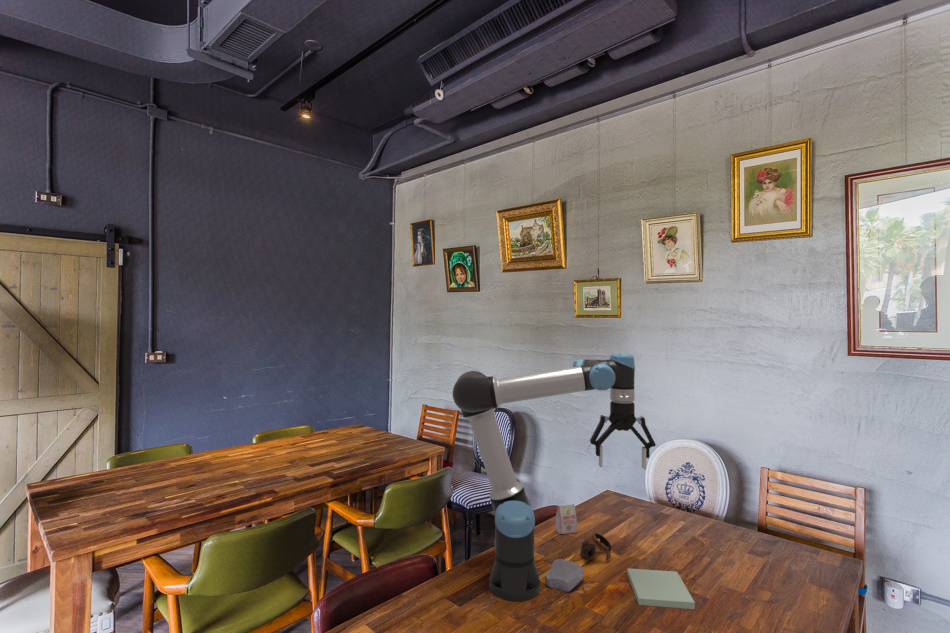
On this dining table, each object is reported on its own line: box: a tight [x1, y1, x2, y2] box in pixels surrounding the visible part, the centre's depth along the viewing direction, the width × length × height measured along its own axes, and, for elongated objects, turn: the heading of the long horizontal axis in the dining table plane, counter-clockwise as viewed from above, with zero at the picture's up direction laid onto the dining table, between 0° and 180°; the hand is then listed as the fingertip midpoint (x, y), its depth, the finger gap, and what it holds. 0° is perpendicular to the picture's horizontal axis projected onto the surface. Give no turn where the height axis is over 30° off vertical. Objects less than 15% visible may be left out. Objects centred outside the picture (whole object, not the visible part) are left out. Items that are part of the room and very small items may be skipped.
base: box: [626, 567, 696, 610], centre depth 138 cm, size 15×16×2 cm
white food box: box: [555, 503, 577, 535], centre depth 177 cm, size 4×7×10 cm, turn 106°
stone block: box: [545, 558, 584, 593], centre depth 142 cm, size 12×5×10 cm
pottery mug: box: [579, 532, 613, 562], centre depth 156 cm, size 12×9×8 cm
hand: (622, 467), depth 151 cm, fingers open, 13 cm apart
